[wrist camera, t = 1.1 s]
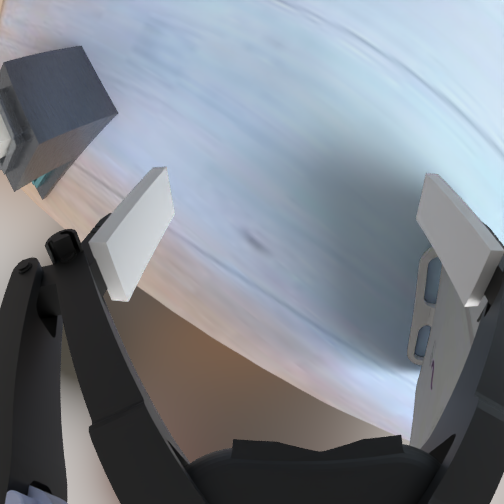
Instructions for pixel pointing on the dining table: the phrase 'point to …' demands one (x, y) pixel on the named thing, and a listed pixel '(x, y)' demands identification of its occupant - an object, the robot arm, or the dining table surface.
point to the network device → (439, 348)
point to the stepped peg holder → (50, 115)
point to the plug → (4, 139)
